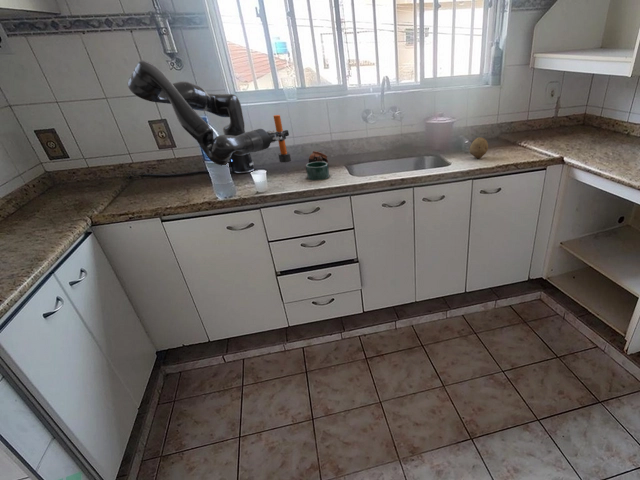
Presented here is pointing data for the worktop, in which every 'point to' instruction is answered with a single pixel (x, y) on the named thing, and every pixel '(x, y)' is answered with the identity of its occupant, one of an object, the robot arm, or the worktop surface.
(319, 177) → the utensil cup
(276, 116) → the dish brush
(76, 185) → the worktop surface
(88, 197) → the worktop surface
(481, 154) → the brown potato
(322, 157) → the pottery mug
